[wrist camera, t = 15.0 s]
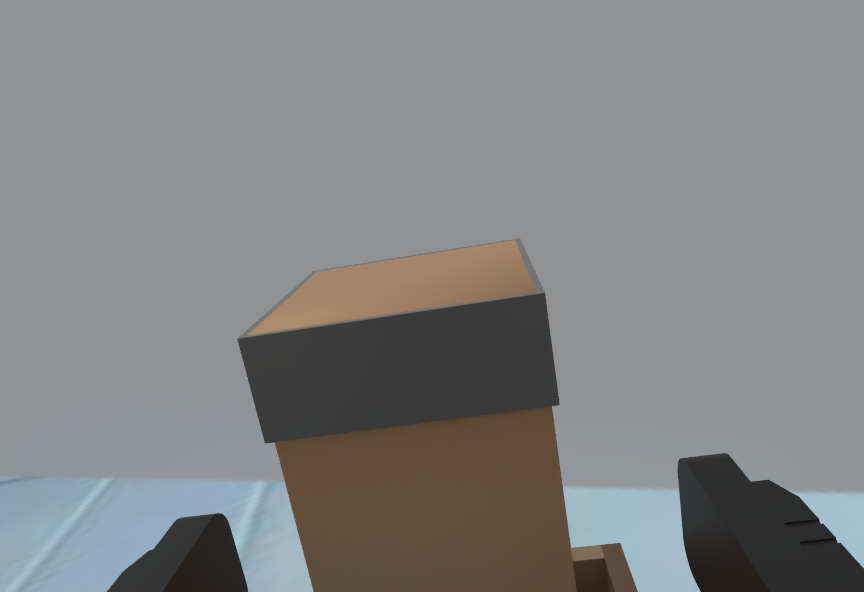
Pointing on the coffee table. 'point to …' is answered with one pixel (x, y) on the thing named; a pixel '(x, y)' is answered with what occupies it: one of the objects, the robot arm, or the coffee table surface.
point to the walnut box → (602, 569)
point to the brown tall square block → (418, 423)
